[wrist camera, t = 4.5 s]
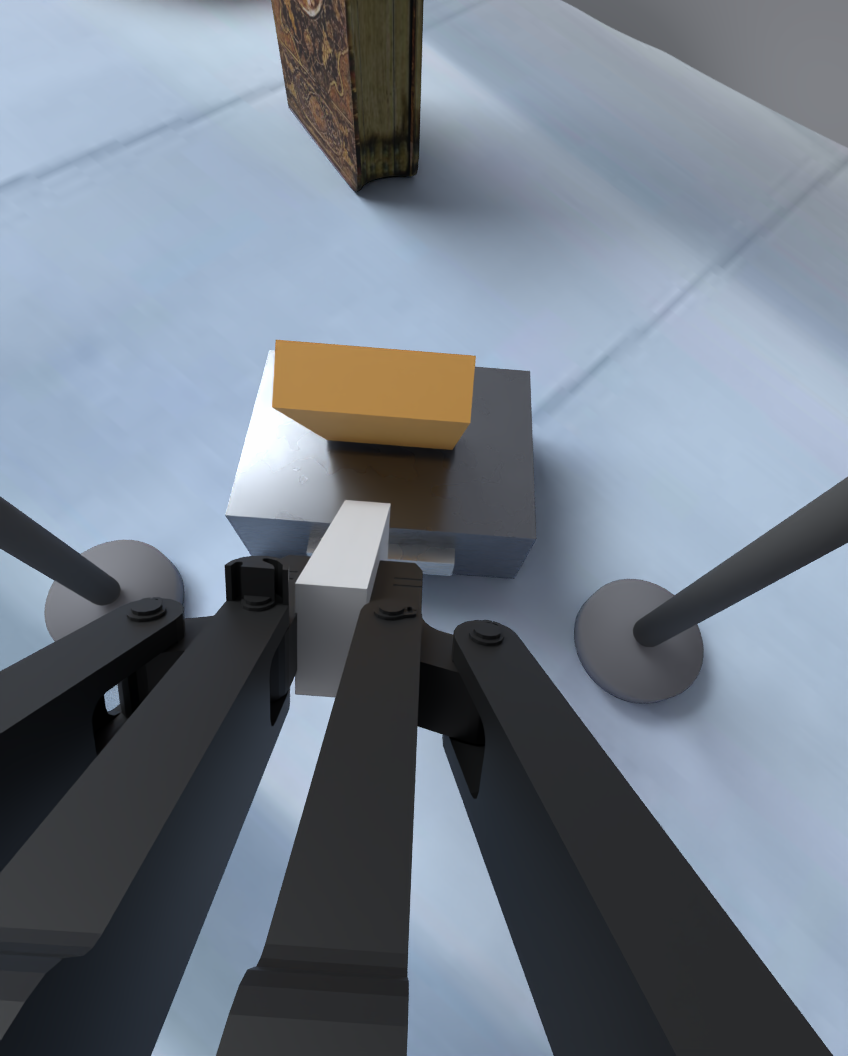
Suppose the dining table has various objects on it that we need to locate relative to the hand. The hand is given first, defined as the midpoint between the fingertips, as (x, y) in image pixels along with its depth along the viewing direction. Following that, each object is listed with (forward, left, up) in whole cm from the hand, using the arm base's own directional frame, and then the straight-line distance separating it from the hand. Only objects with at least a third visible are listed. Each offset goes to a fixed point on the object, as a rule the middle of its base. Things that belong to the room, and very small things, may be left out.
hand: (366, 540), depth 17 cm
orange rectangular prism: (+4, -7, -4) cm, 9 cm away
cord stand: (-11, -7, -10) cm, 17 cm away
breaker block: (+4, -7, -10) cm, 13 cm away
